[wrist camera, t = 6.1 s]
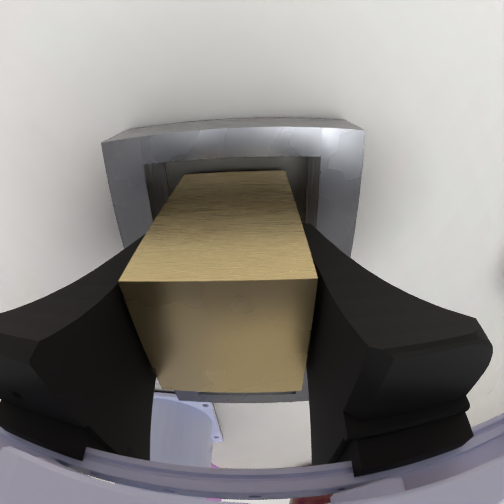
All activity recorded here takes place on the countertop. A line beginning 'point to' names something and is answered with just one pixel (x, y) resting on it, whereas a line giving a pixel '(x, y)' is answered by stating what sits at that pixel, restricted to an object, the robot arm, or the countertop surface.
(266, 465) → the countertop surface
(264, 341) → the light brown wooden block
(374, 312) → the robot arm
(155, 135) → the steel window frame
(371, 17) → the countertop surface
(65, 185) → the countertop surface
